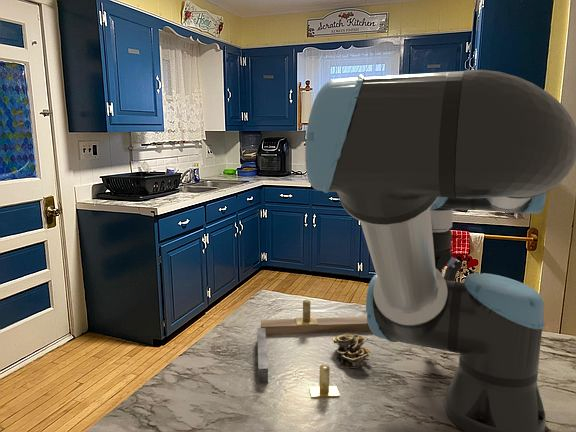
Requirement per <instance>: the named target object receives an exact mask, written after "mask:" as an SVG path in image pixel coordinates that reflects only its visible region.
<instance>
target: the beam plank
mask: <svg viewBox="0 0 576 432" xmlns="http://www.w3.org/2000/svg"><path fill="white" fill-rule="evenodd" d="M260 328H265V332H266V336H267V335H269V336H270V335H290V334H291V335H294V334H295V335H296V334H323V333H353V332H356V333H357V332H371V330H370V328H369V325H368V322H367V316H349V317H348V316H347V317H345V316H343V317H340V316H339V317H316V316H311V300H310V299H304V300H302V316H301V317H295V318H284V319H283V318H282V319H281V318H279V319H260Z"/></svg>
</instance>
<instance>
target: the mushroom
mask: <svg viewBox="0 0 576 432" xmlns="http://www.w3.org/2000/svg"><path fill="white" fill-rule="evenodd" d="M331 340H332V342H333V344H336V345H337V349H335V352H337V353H336V357H335V359H336V360H337V362H339V363H338V365H337V366H338V368H339V367H340V368H342V369H344V368H345V369H346V368H350V369H351V368H355V369H357V368H359V367H361V366H363V365H364V364H366V363H367V362H369V361H370V358H368V357H369V356H370V353H371V352H372V351H371V349H370V348H367V347H364V346H363V345H364V344H365V342H366V341H369V338H367V337H366V338H365V337H364V336H363V335H359V334H357V333H355V334H351V333H344V334H339V335H337V336H333V337H332V339H331ZM366 358H367V359H366Z"/></svg>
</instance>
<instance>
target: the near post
mask: <svg viewBox="0 0 576 432" xmlns="http://www.w3.org/2000/svg"><path fill="white" fill-rule="evenodd" d="M330 368H331V367H330V365H328V364H321V365H319V386H309V392H310V397H311V399H316V398H317V399H320V398H339V397H340V392H339V390H338V388H337V386H336V385H333V386H332V385H330V379H331V378H330V372H331V371H330Z"/></svg>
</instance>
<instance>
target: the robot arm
mask: <svg viewBox="0 0 576 432" xmlns="http://www.w3.org/2000/svg"><path fill="white" fill-rule="evenodd" d="M365 75H366V74H359V75H358V76H355V77H343V78H335V79H331V80H330V81H328V82H326V83H325V84H323V85H322V87H321V88H320V90H319V91H318V93H317V94H316V95H315V96H316V97H315V98H314V101H313V103H312V106H311V110H310V113H309V119H308V121H307V127H306V137H305V150H304V151H305V154H304V156H305V157H304V159H305V171H306V175H307V179H308V182H309V185H310V186H311V187H312V189H314V190H316V191H321V192H323V193H324V194H328V193H332V192H334V193H335V192H336V193H337V196H338V199H339V201H340V204H341V205H342V207H343V208H344V210H345V211H346V212H347V214H349V216H351V217H352V218H353V219H355V220H357V221H359V223H360V225H361V229H362V233H363V235H364V238H365V241H366V245H367V248H368V252H369V255H370V258H371V261H372V264H373V267H374V271H375V274H374V275H373V277H372V278H371V280H370V281H369V284H368V287H367V292H366V298H365V312H366V314H367V315H366V317H367V322H368V325H369V328H370V330H371V331H370V332H371V333H372V334H373V335H374V336H375V337H377V338H380V339H383V340H386V341H388V342H389V343H390V342H391V343H403V344H407V345H408V344H409V345H414V346H418V347H424V348H430V349H434V350H440V351H444V352H451V353H456V354H459V357H458V358H459V359H458V367H457V369H456V370H455V372H454V374H453V376H452V378H451V380H450V383H449V386H448V387H447V389H446V391H445V396H444V397H445V401H444V410H445V413H446V414H447V416H448V418H449V419H450V420H451V421H452V422H453V423H454V424H455V426H457V427H458V428H460V429H461V430H463V431H464V432H545V430H546V422H547V421H546V419H547V418H546V412H545V408H544V405H543V400H542V397H541V393H540V390H539V385H538V375H539V365H540V354H541V343H542V335H543V330H544V328H545V324H546V323H545V320H544V315H545V314H544V313H545V302H544V299H543V297H542V295H540V293H539V292H538V291H537V290H535V289H534V288H532V287H531V286H529V285H527V284H525V283H523V282H521V281H519V280H515V279H512V278H509V277H506V276H501V275H498V274H493V273H487V272H486V273H485V272H483V273H482V272H481V273H479V272H473V273H470V274H467V276H465V279H463V282H460V281H456V277H457V273H458V272H459V271H460V269H461V267H462V266H463V263H462V261H460V260H458V259H457V258H454V257H453V254H452V251H451V248H452V233H453V232H452V230H451V229H452V228H453V219H454V218H453V217H454V210H465V211H467V210H468V211H483V212H484V211H486V212H496V213H497V212H498V213H511V214H512V213H513V214H517V215H525V214H540V213H541V212H542V211H543V210H544V208H545V204H546V200H547V192H550V191H551V190H553V189H554V188H556V187H557V186H558V185H560V183H561V182H563V180H564V179H565V178H566V177H567V176H568V175H569V174H570V172H571V170H572V169H573V168H574V166H575V164H576V123H575V121H574V119H573V118H572V116H571V115H570V113H569V111H568V110H567V109H566V107H564V105H563V104H562V103H561V102H560V101H559V100H558V99H557V98H556V97H554V96H553V95H552V94H550V93H549V92H547V90H545V89H542V87H539V86H538V85H536V84H535V83H533V82H531V81H528V80H526V79H524V78H522V77H519V76H516V75H512V74H508V73H506V72H502V71H496V70H495V71H494V70H487V69H471V70H470V69H468V70H467V69H465V70H462V71H457V70H456V71H442V72H428V73H427V72H426V73H409V74H396V75H381V76H369V77H368V76H366V77H365ZM446 265H447V266H446ZM445 267H446V269H445V272H444V275H443V270H444V268H445Z"/></svg>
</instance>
